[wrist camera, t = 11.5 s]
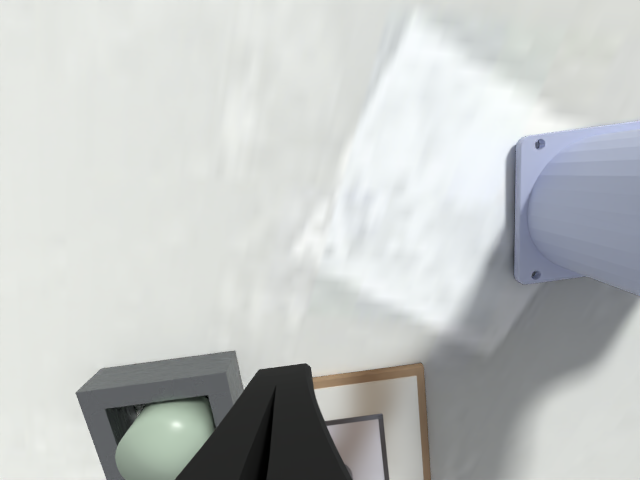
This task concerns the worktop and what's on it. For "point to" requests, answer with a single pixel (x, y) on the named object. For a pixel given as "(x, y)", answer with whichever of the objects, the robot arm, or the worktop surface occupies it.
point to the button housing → (153, 395)
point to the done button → (164, 438)
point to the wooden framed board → (378, 421)
